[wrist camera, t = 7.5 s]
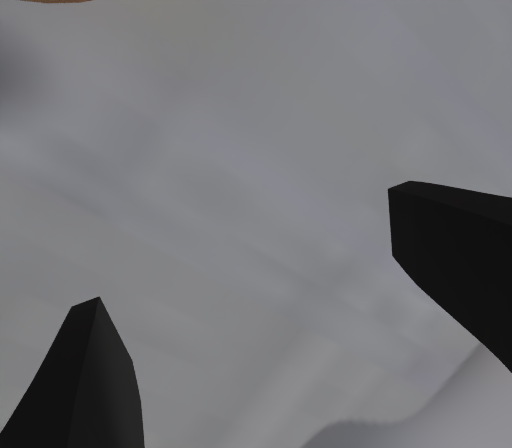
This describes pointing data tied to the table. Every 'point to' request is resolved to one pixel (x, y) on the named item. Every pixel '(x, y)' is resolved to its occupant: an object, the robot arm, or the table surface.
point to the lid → (57, 1)
